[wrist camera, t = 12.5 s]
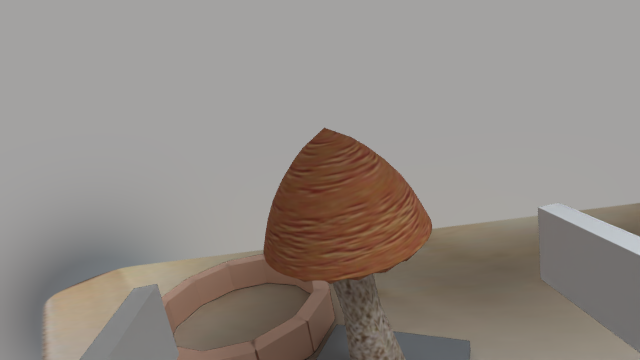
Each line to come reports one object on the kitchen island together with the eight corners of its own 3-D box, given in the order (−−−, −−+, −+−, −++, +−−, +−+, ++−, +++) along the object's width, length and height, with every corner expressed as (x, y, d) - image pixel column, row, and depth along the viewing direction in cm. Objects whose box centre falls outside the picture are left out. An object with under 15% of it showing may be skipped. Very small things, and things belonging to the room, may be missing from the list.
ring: (357, 282, 34) (352, 256, 33) (275, 417, 21) (265, 381, 21) (228, 273, 40) (223, 251, 40) (107, 374, 28) (96, 345, 27)
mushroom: (307, 487, 17) (218, 165, 13) (304, 359, 25) (248, 132, 21) (482, 450, 17) (447, 118, 13) (425, 334, 25) (392, 102, 21)
